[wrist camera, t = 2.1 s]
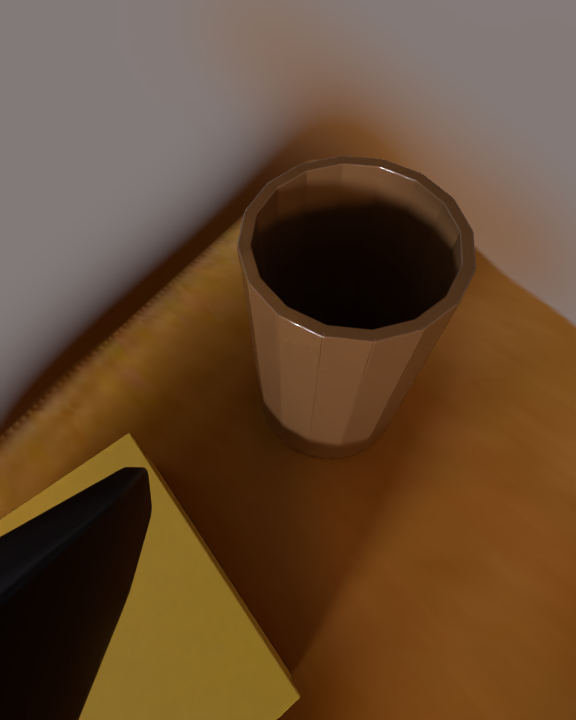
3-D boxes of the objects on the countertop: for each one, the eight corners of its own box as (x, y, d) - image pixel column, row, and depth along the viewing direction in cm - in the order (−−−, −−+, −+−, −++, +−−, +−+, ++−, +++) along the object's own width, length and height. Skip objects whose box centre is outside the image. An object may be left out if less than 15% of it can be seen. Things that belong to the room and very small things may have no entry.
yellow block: (298, 676, 19) (301, 697, 15) (62, 899, 16) (-5, 989, 12) (154, 457, 23) (129, 431, 19) (-55, 603, 20) (-130, 606, 16)
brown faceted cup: (420, 405, 24) (525, 253, 13) (318, 487, 22) (344, 389, 11) (334, 316, 26) (364, 127, 16) (236, 384, 24) (193, 222, 14)
